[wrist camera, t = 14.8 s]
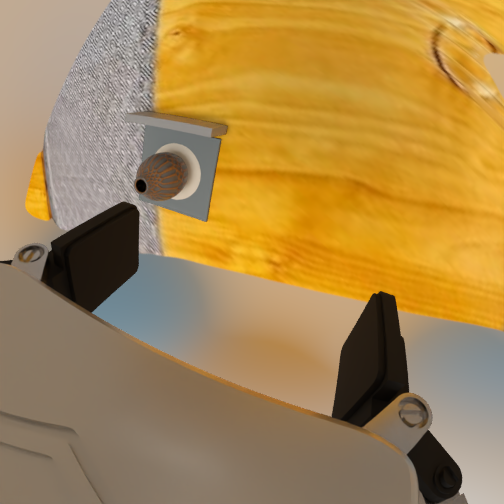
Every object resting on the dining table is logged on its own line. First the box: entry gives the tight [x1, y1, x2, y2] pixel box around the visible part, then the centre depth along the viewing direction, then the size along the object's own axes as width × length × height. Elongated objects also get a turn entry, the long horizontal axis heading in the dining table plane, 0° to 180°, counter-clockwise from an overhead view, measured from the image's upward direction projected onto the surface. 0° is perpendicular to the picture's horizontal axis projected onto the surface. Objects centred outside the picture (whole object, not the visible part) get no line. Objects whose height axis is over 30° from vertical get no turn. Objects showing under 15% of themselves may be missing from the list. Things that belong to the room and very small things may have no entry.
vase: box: [134, 152, 188, 201], centre depth 39 cm, size 7×7×9 cm
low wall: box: [125, 111, 227, 138], centre depth 37 cm, size 1×14×5 cm, turn 78°
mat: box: [139, 125, 221, 222], centre depth 43 cm, size 13×13×1 cm
